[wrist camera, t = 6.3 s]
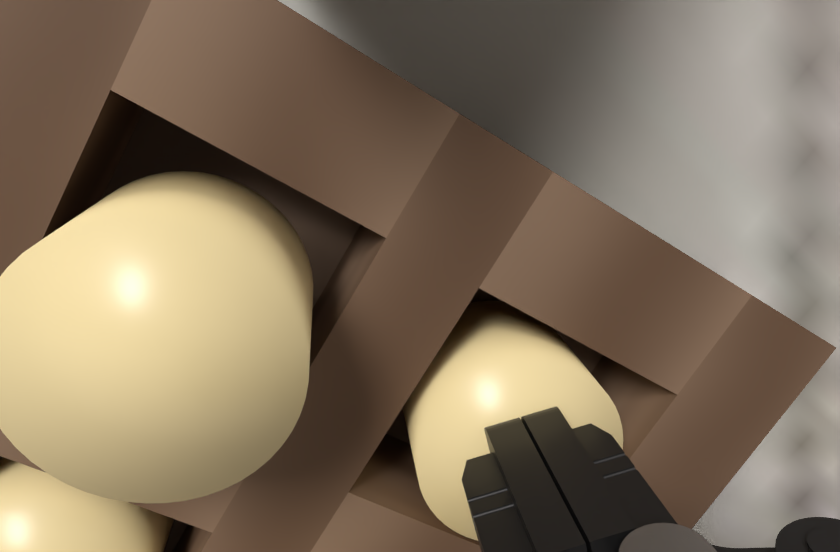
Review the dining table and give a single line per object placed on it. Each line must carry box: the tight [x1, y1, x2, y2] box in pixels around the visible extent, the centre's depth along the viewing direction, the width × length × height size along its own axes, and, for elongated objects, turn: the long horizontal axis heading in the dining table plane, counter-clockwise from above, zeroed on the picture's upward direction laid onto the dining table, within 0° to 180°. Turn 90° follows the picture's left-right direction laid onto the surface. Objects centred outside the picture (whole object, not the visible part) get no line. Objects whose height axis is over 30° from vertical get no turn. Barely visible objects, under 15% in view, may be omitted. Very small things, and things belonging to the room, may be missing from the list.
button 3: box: [0, 171, 313, 503], centre depth 10 cm, size 4×4×3 cm
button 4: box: [403, 301, 623, 541], centre depth 14 cm, size 4×4×3 cm
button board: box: [0, 0, 836, 552], centre depth 15 cm, size 17×17×4 cm
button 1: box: [0, 456, 174, 552], centre depth 14 cm, size 4×4×3 cm
